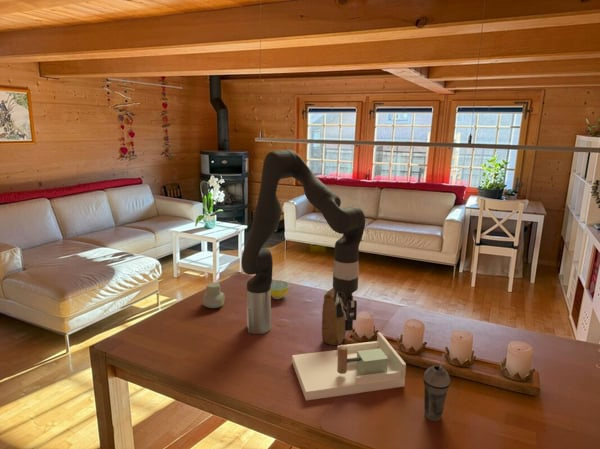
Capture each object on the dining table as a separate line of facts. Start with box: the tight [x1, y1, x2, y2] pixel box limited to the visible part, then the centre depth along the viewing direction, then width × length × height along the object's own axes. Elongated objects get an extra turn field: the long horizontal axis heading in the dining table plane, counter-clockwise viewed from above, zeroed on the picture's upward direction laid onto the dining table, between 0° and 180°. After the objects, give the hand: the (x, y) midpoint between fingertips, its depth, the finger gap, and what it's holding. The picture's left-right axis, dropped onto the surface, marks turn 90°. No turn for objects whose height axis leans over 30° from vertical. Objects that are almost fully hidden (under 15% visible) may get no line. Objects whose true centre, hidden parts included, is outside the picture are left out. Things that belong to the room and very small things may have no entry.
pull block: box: [337, 345, 388, 375], centre depth 133 cm, size 16×6×10 cm, turn 103°
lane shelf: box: [291, 332, 407, 401], centre depth 138 cm, size 32×20×8 cm, turn 103°
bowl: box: [271, 279, 290, 300], centre depth 196 cm, size 11×12×6 cm
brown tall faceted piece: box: [321, 287, 347, 346], centre depth 158 cm, size 11×8×20 cm
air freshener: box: [202, 281, 226, 309], centre depth 186 cm, size 11×8×10 cm
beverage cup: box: [422, 352, 451, 422], centre depth 118 cm, size 7×7×20 cm
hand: (343, 323), depth 129 cm, fingers open, 8 cm apart
